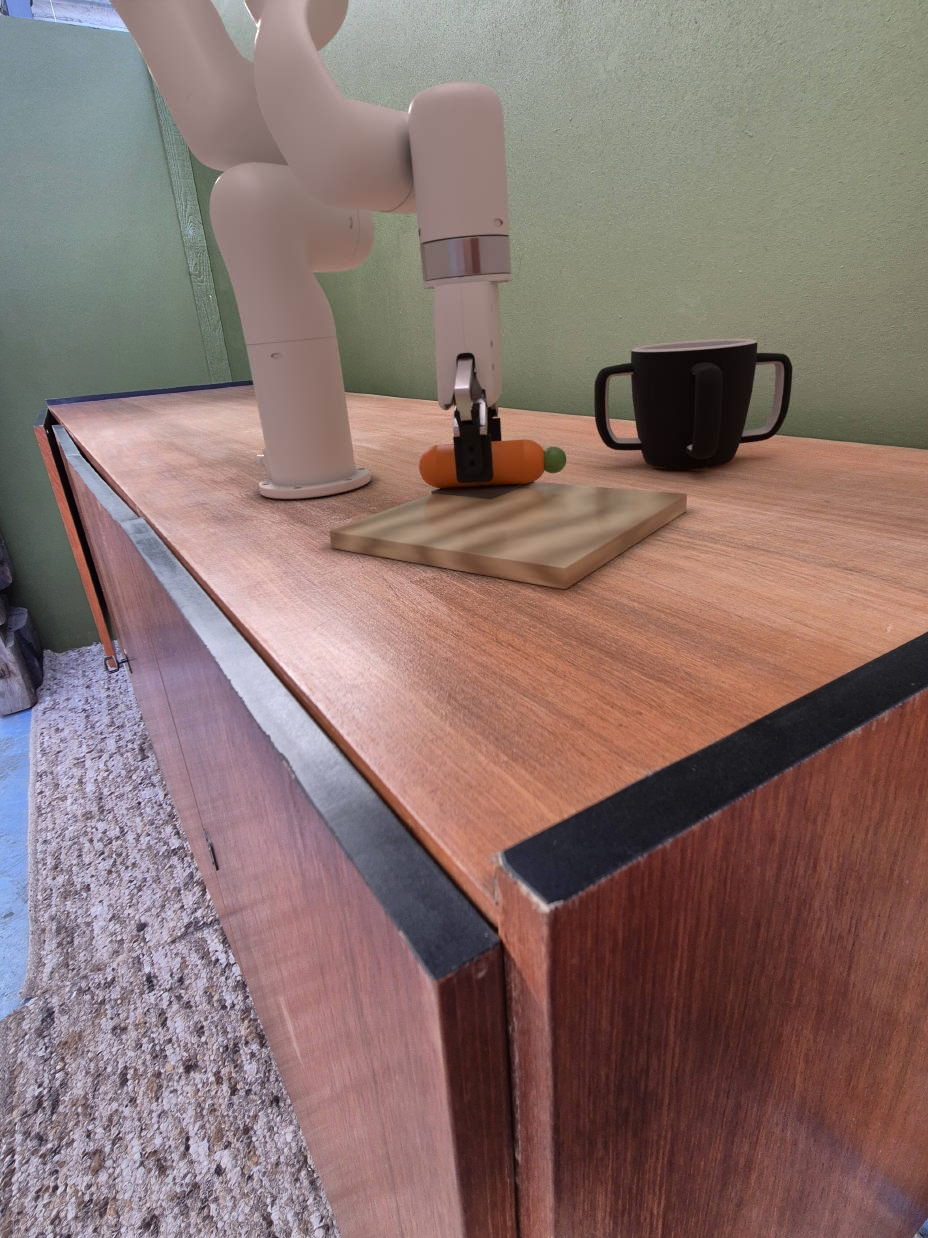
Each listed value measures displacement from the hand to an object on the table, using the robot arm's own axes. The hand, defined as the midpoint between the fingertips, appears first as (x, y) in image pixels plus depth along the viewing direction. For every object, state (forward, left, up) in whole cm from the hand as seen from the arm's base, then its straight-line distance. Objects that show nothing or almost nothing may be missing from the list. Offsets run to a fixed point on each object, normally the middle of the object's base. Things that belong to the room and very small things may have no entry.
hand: (481, 469), depth 67 cm
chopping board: (+8, -6, -3) cm, 10 cm away
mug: (+12, +22, -3) cm, 25 cm away
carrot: (0, +1, -1) cm, 1 cm away
